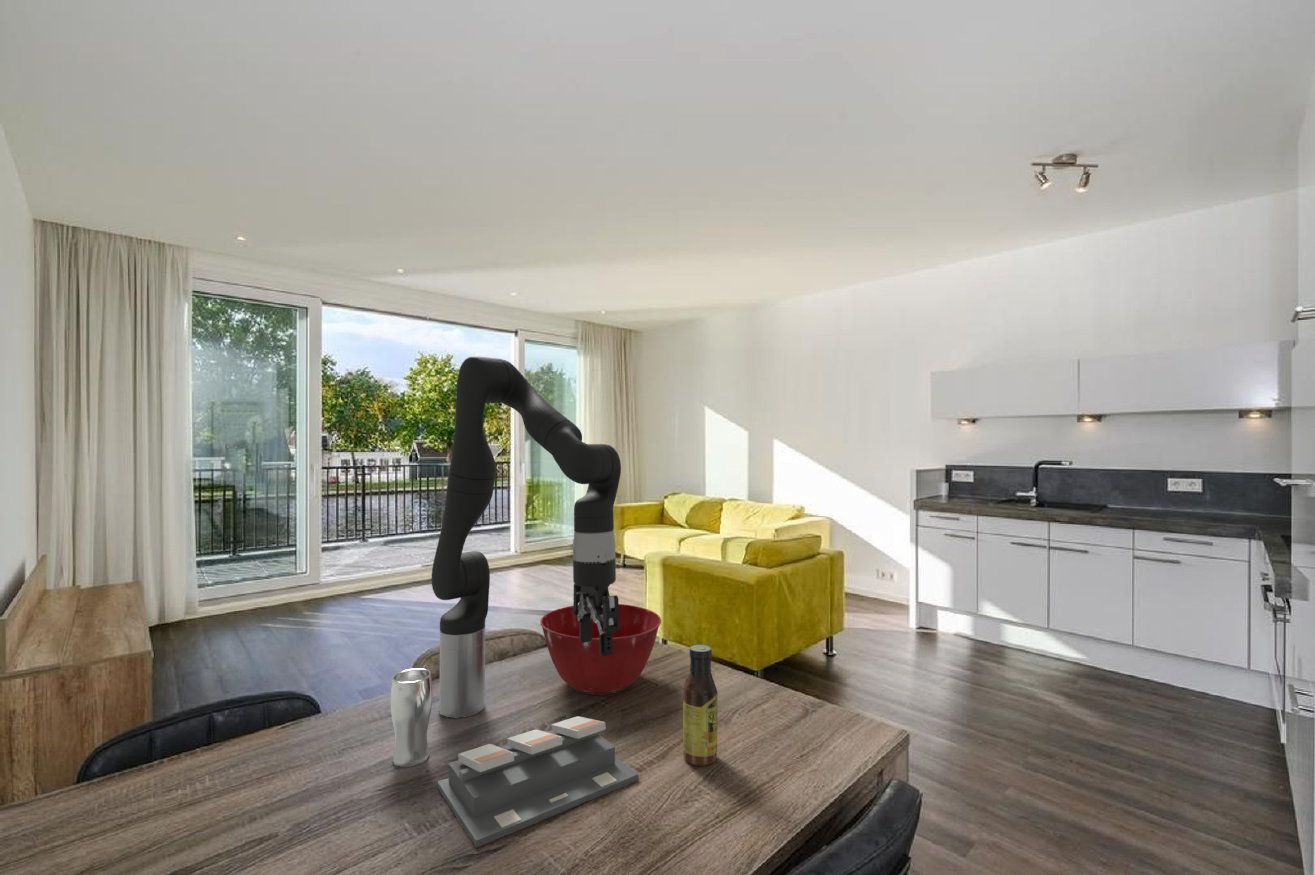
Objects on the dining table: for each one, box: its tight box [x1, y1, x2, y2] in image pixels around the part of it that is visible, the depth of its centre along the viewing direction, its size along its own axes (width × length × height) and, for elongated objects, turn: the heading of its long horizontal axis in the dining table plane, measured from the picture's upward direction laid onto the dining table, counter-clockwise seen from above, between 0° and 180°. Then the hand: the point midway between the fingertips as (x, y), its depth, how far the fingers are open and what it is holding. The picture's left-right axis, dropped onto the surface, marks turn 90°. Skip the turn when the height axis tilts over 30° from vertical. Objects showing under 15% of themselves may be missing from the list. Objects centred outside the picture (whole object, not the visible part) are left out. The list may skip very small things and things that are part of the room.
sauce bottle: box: [682, 644, 719, 767], centre depth 108 cm, size 7×6×20 cm
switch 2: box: [506, 729, 562, 755], centre depth 101 cm, size 10×6×1 cm, turn 37°
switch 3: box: [550, 716, 607, 739], centre depth 106 cm, size 10×6×1 cm, turn 37°
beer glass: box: [390, 667, 433, 768], centre depth 107 cm, size 7×7×15 cm
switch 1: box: [457, 743, 514, 772], centre depth 96 cm, size 10×6×1 cm, turn 37°
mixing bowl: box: [539, 603, 662, 696], centre depth 141 cm, size 28×28×16 cm
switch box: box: [436, 729, 639, 848], centre depth 99 cm, size 18×28×5 cm, turn 127°
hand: (595, 648), depth 105 cm, fingers open, 8 cm apart
